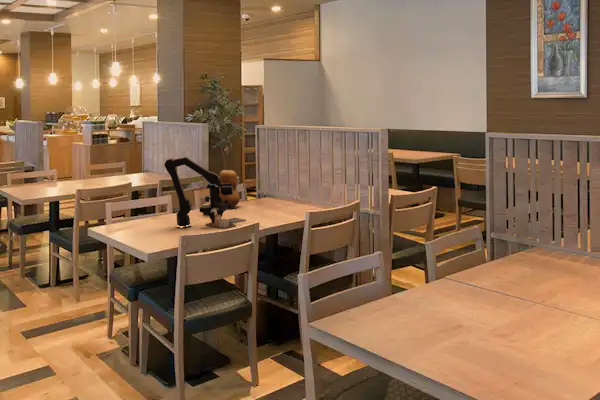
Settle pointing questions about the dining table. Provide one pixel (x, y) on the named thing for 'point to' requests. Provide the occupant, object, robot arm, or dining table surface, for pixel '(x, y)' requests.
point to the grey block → (223, 222)
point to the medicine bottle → (207, 205)
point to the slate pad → (235, 220)
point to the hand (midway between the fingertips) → (216, 222)
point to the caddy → (220, 226)
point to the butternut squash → (231, 177)
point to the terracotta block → (216, 219)
